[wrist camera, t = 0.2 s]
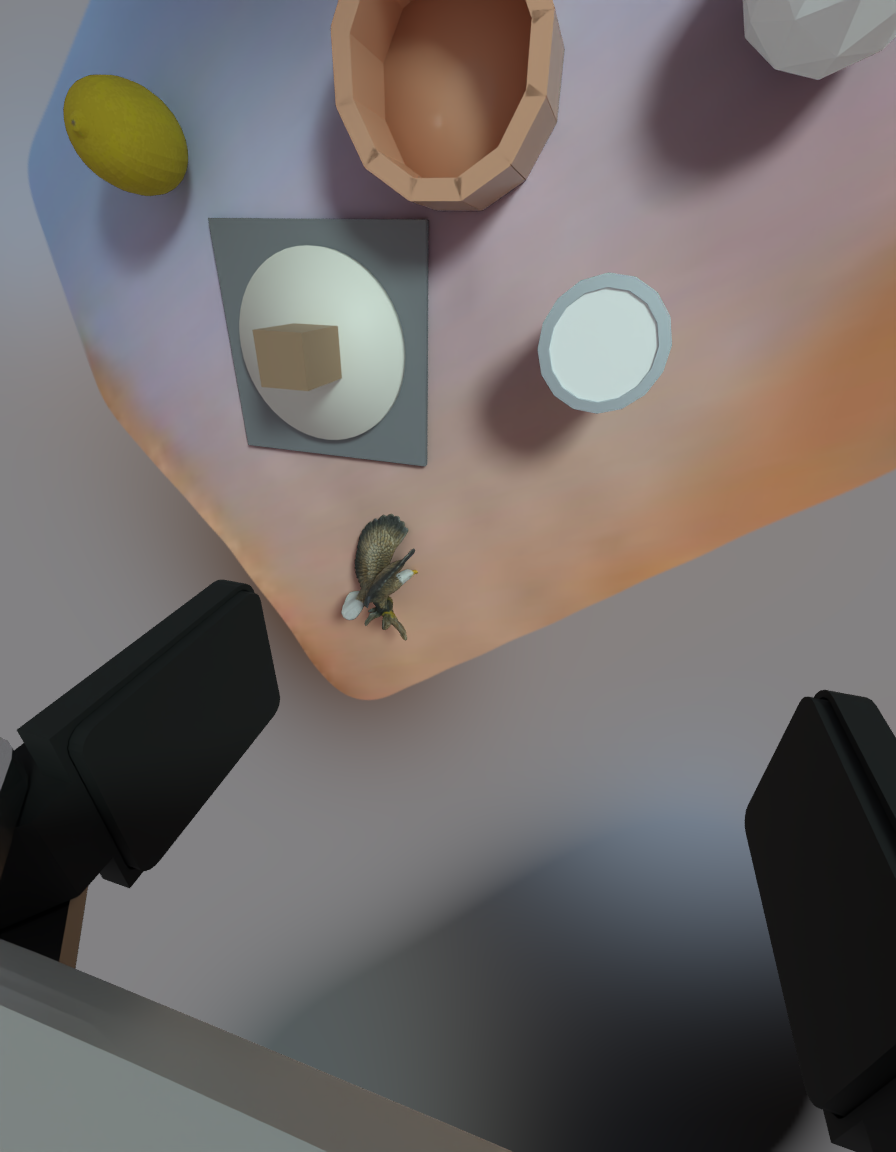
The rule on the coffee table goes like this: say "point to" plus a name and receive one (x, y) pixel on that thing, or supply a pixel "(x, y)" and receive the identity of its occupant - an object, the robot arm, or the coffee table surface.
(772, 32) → the geometric ball
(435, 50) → the bowl
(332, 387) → the lid
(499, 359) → the coffee table surface
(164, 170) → the lemon
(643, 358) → the shot glass
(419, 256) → the mat
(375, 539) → the eagle figurine
